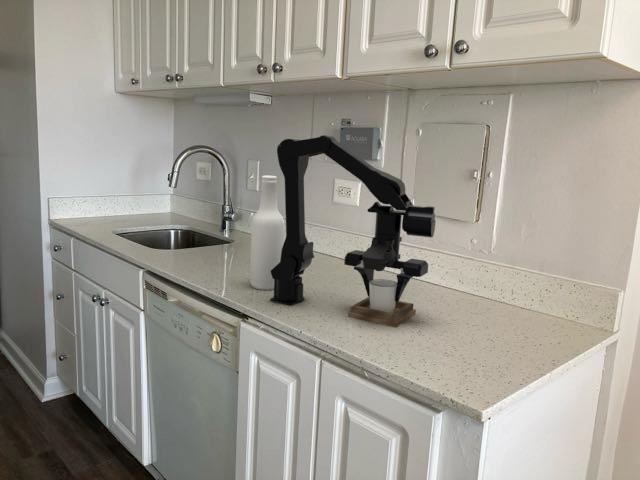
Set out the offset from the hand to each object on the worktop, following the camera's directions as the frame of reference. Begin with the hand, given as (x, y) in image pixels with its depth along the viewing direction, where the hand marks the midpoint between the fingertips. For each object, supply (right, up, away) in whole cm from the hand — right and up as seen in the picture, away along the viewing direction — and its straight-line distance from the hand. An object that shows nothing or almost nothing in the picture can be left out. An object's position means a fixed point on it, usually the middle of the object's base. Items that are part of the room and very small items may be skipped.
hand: (383, 298), depth 124 cm
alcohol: (-29, +1, +21) cm, 36 cm away
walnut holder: (0, -4, +1) cm, 4 cm away
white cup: (0, -3, +1) cm, 3 cm away
